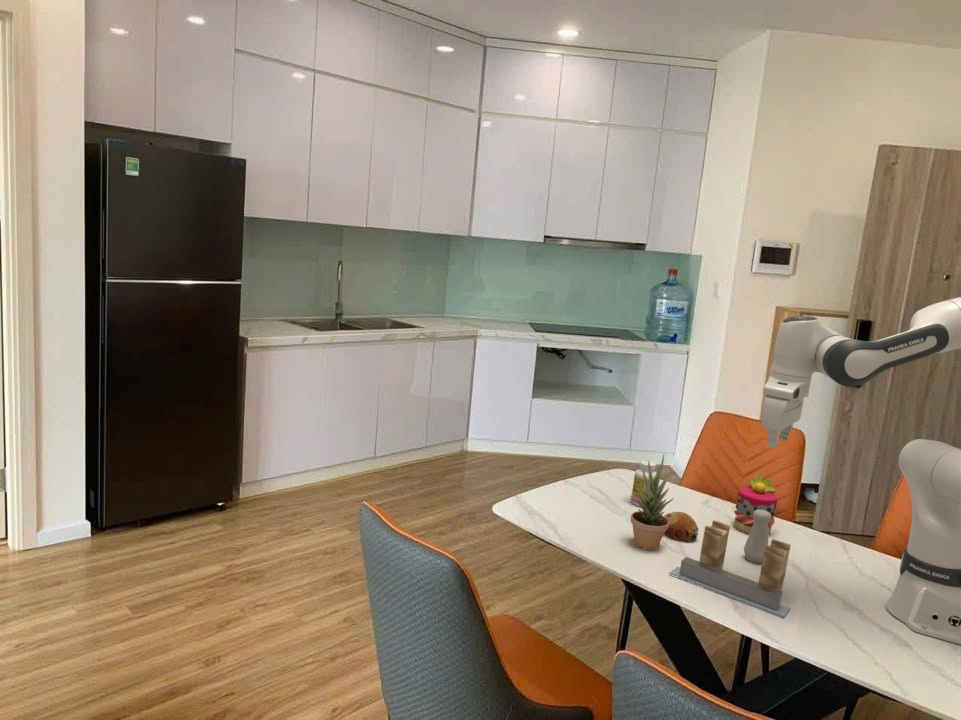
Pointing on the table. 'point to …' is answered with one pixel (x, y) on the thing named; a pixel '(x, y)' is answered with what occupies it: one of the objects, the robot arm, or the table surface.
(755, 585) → the bar
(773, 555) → the stand near
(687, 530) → the bread roll
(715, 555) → the stand far
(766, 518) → the salt shaker
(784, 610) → the grey flat bar
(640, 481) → the supplement bottle
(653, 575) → the table surface
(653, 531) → the potted plant
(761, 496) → the cake
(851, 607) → the table surface
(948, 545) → the robot arm
